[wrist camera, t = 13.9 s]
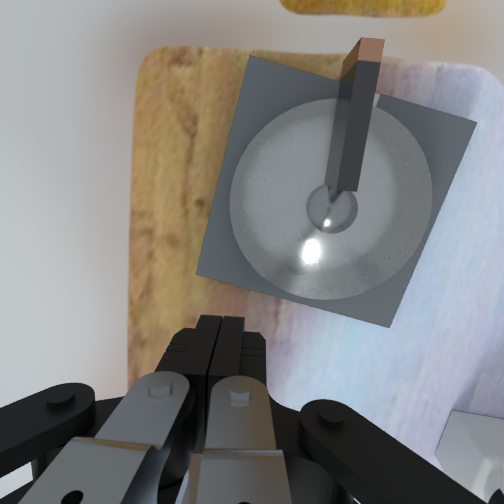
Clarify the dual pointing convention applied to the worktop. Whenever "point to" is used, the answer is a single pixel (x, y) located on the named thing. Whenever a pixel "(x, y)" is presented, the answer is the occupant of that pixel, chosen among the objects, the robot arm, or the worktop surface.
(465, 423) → the grey handled container
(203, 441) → the robot arm
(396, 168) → the rotary knob
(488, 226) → the worktop surface
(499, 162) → the worktop surface
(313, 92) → the plinth
